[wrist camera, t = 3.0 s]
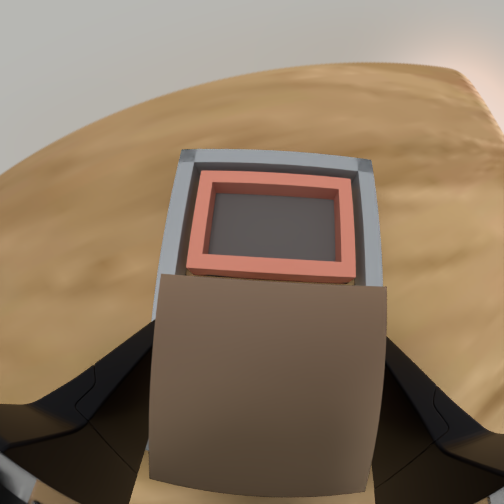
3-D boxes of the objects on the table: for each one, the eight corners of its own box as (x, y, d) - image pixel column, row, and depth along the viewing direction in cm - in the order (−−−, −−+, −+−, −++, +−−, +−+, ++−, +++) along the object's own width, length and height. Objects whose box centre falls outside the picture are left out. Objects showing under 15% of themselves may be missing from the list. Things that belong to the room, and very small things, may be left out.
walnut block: (302, 398, 14) (364, 491, 4) (222, 393, 15) (149, 478, 4) (307, 321, 16) (386, 286, 5) (228, 316, 16) (161, 273, 6)
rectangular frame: (346, 283, 16) (355, 277, 15) (193, 274, 17) (186, 267, 15) (343, 192, 18) (350, 178, 16) (206, 185, 19) (201, 170, 17)
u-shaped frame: (357, 452, 13) (367, 464, 11) (157, 439, 14) (145, 449, 12) (362, 176, 18) (371, 160, 16) (188, 166, 19) (181, 149, 17)
